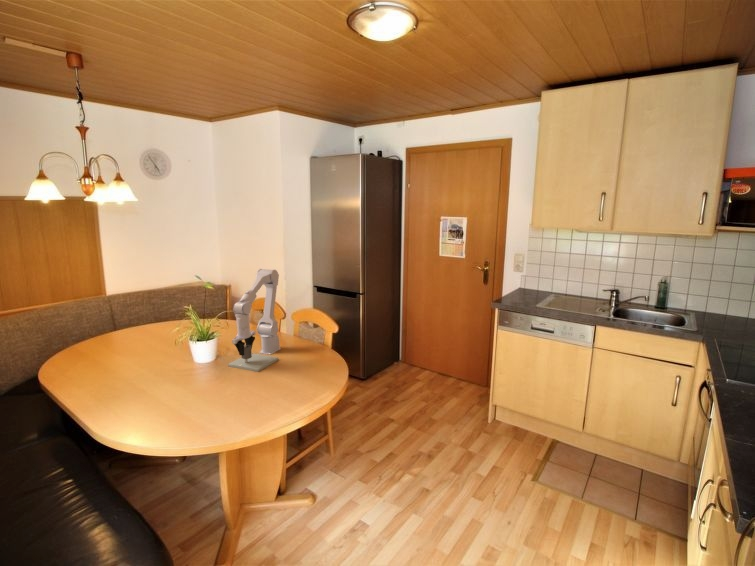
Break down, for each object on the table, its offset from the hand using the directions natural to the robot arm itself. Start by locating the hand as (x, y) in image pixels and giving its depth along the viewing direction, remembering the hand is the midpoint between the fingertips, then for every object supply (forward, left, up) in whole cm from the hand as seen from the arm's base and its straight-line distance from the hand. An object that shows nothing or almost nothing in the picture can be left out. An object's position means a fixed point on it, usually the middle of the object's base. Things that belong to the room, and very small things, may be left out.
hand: (245, 353), depth 205 cm
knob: (0, +1, -2) cm, 2 cm away
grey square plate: (-3, +2, -6) cm, 7 cm away
